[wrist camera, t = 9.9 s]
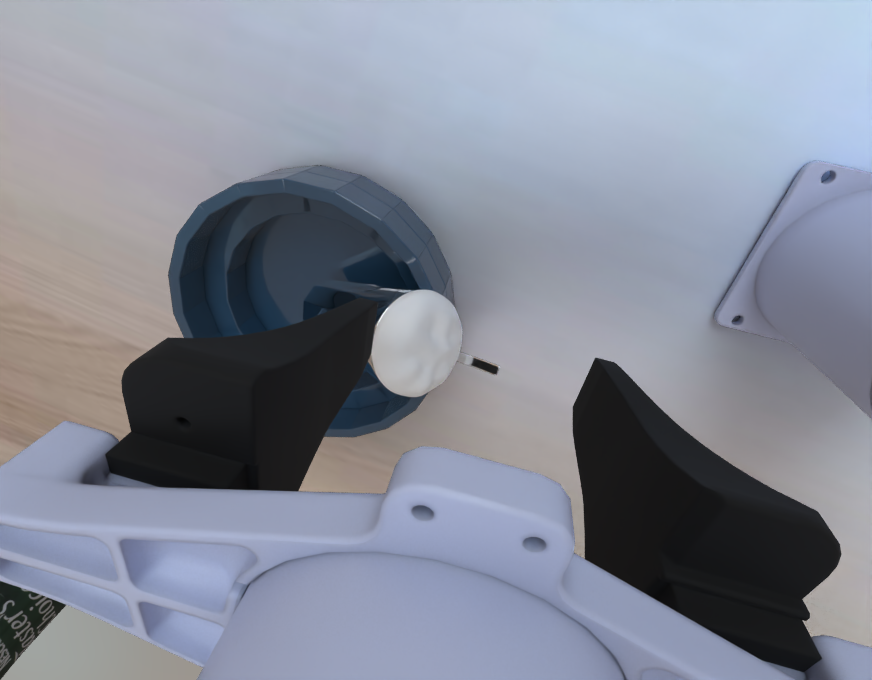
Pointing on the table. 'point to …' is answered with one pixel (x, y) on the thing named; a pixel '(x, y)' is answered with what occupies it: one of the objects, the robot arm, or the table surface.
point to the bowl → (301, 264)
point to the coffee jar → (22, 621)
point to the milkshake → (403, 334)
